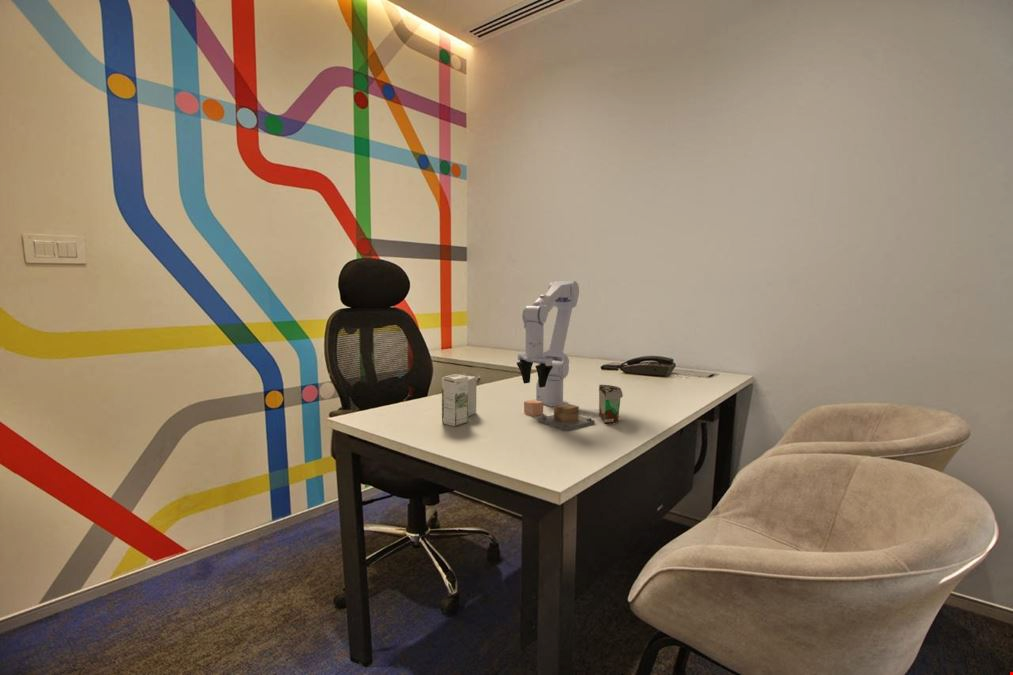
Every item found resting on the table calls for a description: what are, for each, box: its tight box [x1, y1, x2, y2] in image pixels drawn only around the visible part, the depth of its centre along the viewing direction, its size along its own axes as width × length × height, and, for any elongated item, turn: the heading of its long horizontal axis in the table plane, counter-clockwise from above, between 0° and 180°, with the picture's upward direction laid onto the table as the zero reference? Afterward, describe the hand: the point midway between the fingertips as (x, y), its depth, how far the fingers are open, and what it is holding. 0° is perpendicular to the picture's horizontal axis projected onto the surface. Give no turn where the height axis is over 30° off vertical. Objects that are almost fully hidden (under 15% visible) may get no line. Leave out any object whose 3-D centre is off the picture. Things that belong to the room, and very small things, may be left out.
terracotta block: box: [523, 399, 544, 417], centre depth 158 cm, size 4×4×4 cm
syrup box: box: [441, 373, 469, 427], centre depth 146 cm, size 6×6×14 cm
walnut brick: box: [553, 403, 580, 423], centre depth 147 cm, size 4×6×4 cm
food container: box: [598, 384, 624, 425], centre depth 149 cm, size 12×6×10 cm, turn 179°
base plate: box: [537, 414, 596, 432], centre depth 147 cm, size 12×12×2 cm
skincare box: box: [466, 375, 477, 418], centre depth 156 cm, size 6×4×12 cm
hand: (534, 385), depth 157 cm, fingers open, 7 cm apart
